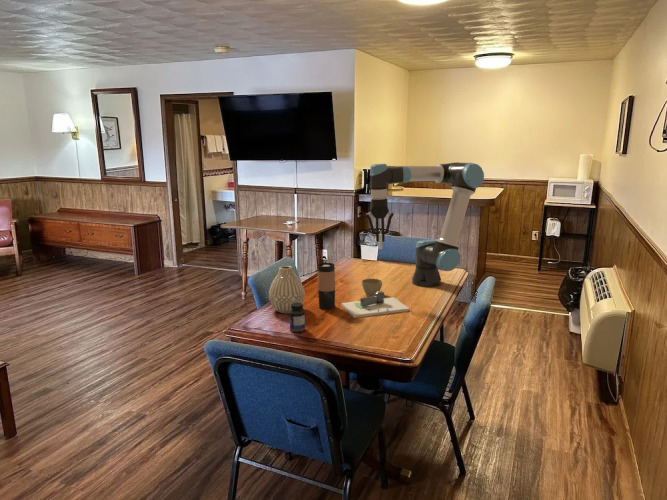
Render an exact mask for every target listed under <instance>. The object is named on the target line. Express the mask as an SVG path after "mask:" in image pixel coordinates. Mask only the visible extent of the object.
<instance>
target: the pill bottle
mask: <svg viewBox="0 0 667 500" xmlns="http://www.w3.org/2000/svg"><path fill="white" fill-rule="evenodd" d="M303 307H304V303H303V304H302V303H298V302H296V303H292V304H291V308H292V309H291V310H290V312H289V313H288V314H289V331H290V332H291V333H294V334H301V333H303V332H305V330H306V311H305V310H304V308H303Z"/></svg>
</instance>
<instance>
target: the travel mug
mask: <svg viewBox="0 0 667 500" xmlns="http://www.w3.org/2000/svg"><path fill="white" fill-rule="evenodd" d="M335 267H336V266H335V263H332V262H321V263H319V264H317V291H318V293H317V294H318V307H319V308H318V309H320V310H324V311H325V310H326V311H329V310H333V309H335V306H336V277H335V276H336V274H335V269H336V268H335Z"/></svg>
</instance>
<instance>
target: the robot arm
mask: <svg viewBox="0 0 667 500" xmlns="http://www.w3.org/2000/svg"><path fill="white" fill-rule="evenodd" d="M369 171H370V172H369V176H370V177H369V179H370V198H371V199H370V207H371V208H370V211H369V212H368V213H366V214H365V216H366V218H367V219H368V222H369V226H370V229H371V233H372V235H375V241H376V243H378V249H379V250H383V243H384V242H385V235H388V234H389V232H390V231H389V230H390V227H391V222H392V219H393V217H394V214H395V213H394V212H392V211H390V209H389V207H388V205H389V203H388V185H396V184H406V183H409V182H435V183H436V184H444V185H445V184H447V185H451V189H452V191H453V192H452V194H451V199H450V200H449V201H450V202H449V205H448V209H447V212H446V214H445V215H446V216H445V219H444V223H443V225H442V229H441V233H440V237H439V238H438V239H423V240H418V241H416V246H415V269H414V272H413V275H412V278H411V283H412V284H413V285H415V286H418V287H426V288H427V287H429V288H430V287H439V286H440V285H441V284H442V277H441V274H440V271H443V272H450V271H451V272H452V271H453V270H455V269H456V268H458V266H459V265H460V262H461V255H460V251H459V248H460V246H459V244H458V240H459V237H460V233H461V229H462V226H463V224H464V220H465V215H466V214H467V213H466V212H467V209H468V205H469V202H470V198H471V197H472V196H473V195H474V194H475V193H476V190H477V188H479V187H481V186H482V185H483V183H484V179H485V172H484V170H483V167H481V166H480V165H479V164H476V163H473V162H450V163H449V162H448V163H438V164H436V165H387V164H386V163H372V164H371V165H370V169H369ZM387 215H388V219H387V222H386V227H385V218H386V217H387ZM372 216H373V217H374V219H375V228H374V225H373V220H372ZM379 219H380V220H379ZM380 221H381V222H380ZM379 222H380V223H381V224H379ZM379 225H381V228H379ZM379 229H381V233H380V230H379Z"/></svg>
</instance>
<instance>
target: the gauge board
mask: <svg viewBox="0 0 667 500" xmlns="http://www.w3.org/2000/svg"><path fill="white" fill-rule="evenodd" d="M341 307H342V308H343V309H345V311H346V312H348V314H349V315H350V316H351V317H352V318H354V319H355V318H364V317H372V316H381V315H388V314H395V313H397V314H398V313H402V312H405V313H406V312H409V311H410V307H408V306H406V305H405V304H404V303H403V302H401V301H400V300H398V299H397V298H396V297H394V296H391V297H384V303H381V304H378V303H376V304H372V305H368V306H364V307H362V306H361V300H359V301H358V300H356V301H349V302H342V303H341Z"/></svg>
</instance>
